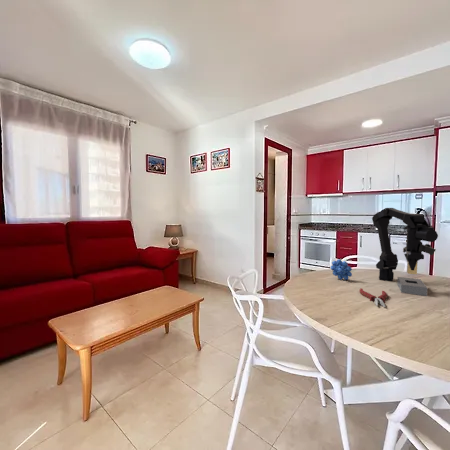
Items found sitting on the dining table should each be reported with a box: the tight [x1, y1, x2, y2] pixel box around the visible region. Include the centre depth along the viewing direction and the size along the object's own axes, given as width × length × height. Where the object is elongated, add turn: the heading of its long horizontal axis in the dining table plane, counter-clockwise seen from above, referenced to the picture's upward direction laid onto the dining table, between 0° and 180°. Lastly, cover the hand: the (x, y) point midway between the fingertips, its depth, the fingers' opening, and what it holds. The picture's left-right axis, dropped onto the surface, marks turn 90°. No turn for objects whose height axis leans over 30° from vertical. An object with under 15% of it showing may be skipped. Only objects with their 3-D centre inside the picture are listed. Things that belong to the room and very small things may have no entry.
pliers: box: [358, 288, 388, 308], centre depth 111 cm, size 12×20×3 cm, turn 159°
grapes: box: [330, 258, 353, 281], centre depth 141 cm, size 12×7×12 cm, turn 56°
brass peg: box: [406, 260, 419, 275], centre depth 123 cm, size 4×4×8 cm
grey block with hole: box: [396, 276, 428, 297], centre depth 124 cm, size 10×16×4 cm, turn 150°
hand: (411, 269), depth 123 cm, fingers closed on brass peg, 4 cm apart
